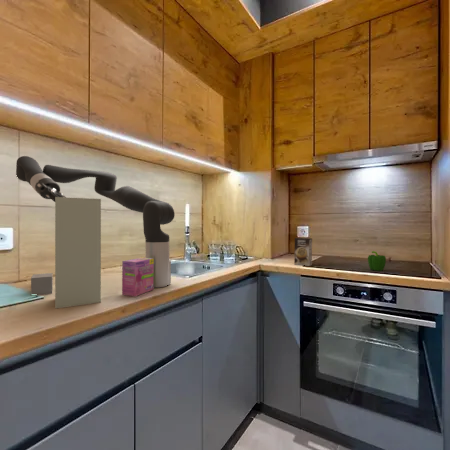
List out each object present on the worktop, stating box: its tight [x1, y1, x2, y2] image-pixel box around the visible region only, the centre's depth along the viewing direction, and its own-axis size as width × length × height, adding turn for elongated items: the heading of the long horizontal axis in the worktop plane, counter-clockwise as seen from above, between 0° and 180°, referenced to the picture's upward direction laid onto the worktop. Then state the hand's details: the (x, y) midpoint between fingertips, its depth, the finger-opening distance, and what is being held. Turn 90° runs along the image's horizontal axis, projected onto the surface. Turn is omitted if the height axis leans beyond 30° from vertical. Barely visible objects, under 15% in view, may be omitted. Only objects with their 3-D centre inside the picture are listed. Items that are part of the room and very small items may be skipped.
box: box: [121, 257, 154, 297], centre depth 98 cm, size 10×6×12 cm, turn 158°
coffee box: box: [293, 237, 313, 267], centre depth 167 cm, size 9×6×16 cm
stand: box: [54, 196, 102, 309], centre depth 88 cm, size 12×12×32 cm
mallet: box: [30, 272, 54, 296], centre depth 104 cm, size 22×6×6 cm, turn 31°
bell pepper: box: [367, 250, 387, 272], centre depth 147 cm, size 8×8×10 cm
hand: (65, 205), depth 104 cm, fingers open, 8 cm apart
